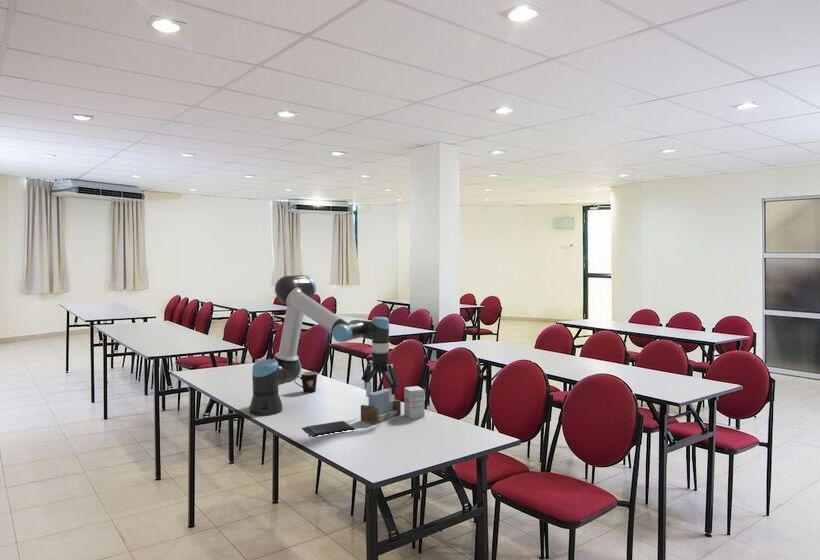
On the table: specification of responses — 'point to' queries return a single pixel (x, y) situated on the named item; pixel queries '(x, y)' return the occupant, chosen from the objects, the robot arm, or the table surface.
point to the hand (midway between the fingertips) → (380, 398)
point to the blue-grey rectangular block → (381, 401)
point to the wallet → (327, 428)
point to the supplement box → (414, 402)
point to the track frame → (372, 416)
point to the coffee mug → (308, 381)
